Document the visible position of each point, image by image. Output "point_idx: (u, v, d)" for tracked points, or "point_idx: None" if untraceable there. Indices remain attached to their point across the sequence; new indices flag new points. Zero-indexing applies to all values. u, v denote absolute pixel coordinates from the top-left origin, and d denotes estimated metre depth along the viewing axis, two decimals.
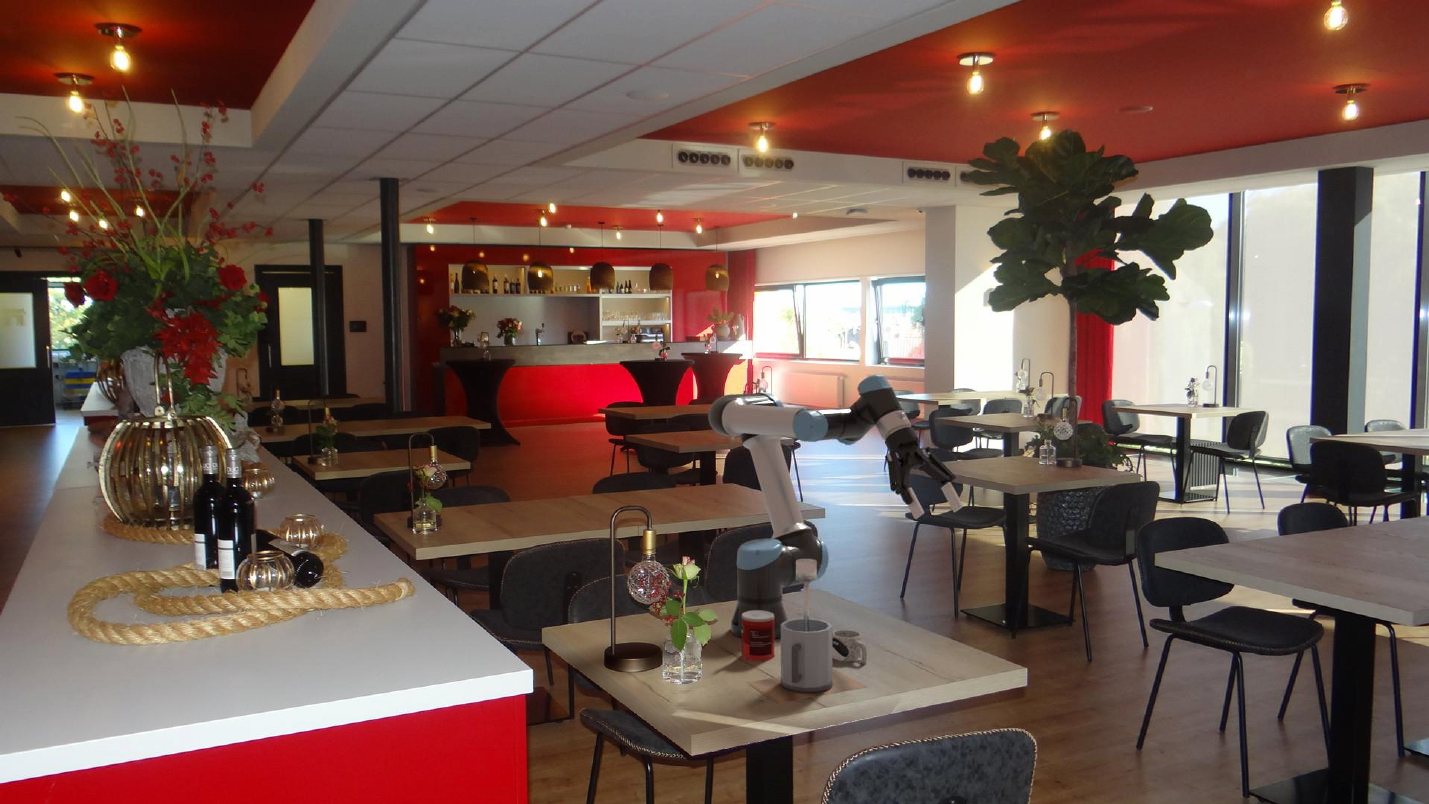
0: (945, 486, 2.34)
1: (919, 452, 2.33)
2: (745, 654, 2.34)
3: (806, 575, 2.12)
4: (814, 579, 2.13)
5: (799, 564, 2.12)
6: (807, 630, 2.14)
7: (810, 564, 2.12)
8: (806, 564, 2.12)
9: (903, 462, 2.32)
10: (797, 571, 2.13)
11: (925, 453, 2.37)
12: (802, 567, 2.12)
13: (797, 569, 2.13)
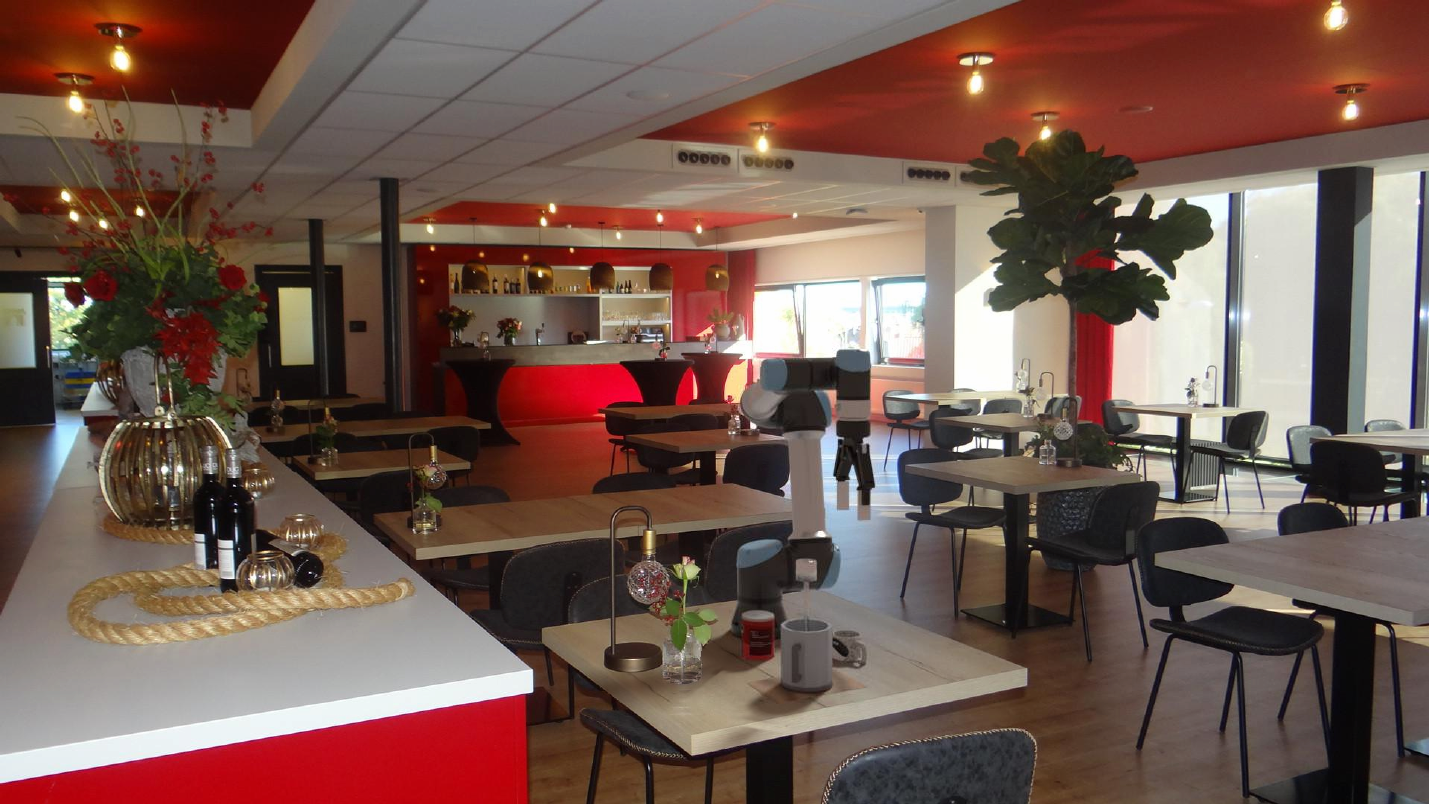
0: None
1: (846, 449, 2.18)
2: (745, 654, 2.34)
3: (806, 575, 2.12)
4: (814, 579, 2.13)
5: (799, 564, 2.12)
6: (807, 630, 2.14)
7: (810, 564, 2.12)
8: (806, 564, 2.12)
9: None
10: (797, 571, 2.13)
11: None
12: (802, 567, 2.12)
13: (797, 569, 2.13)
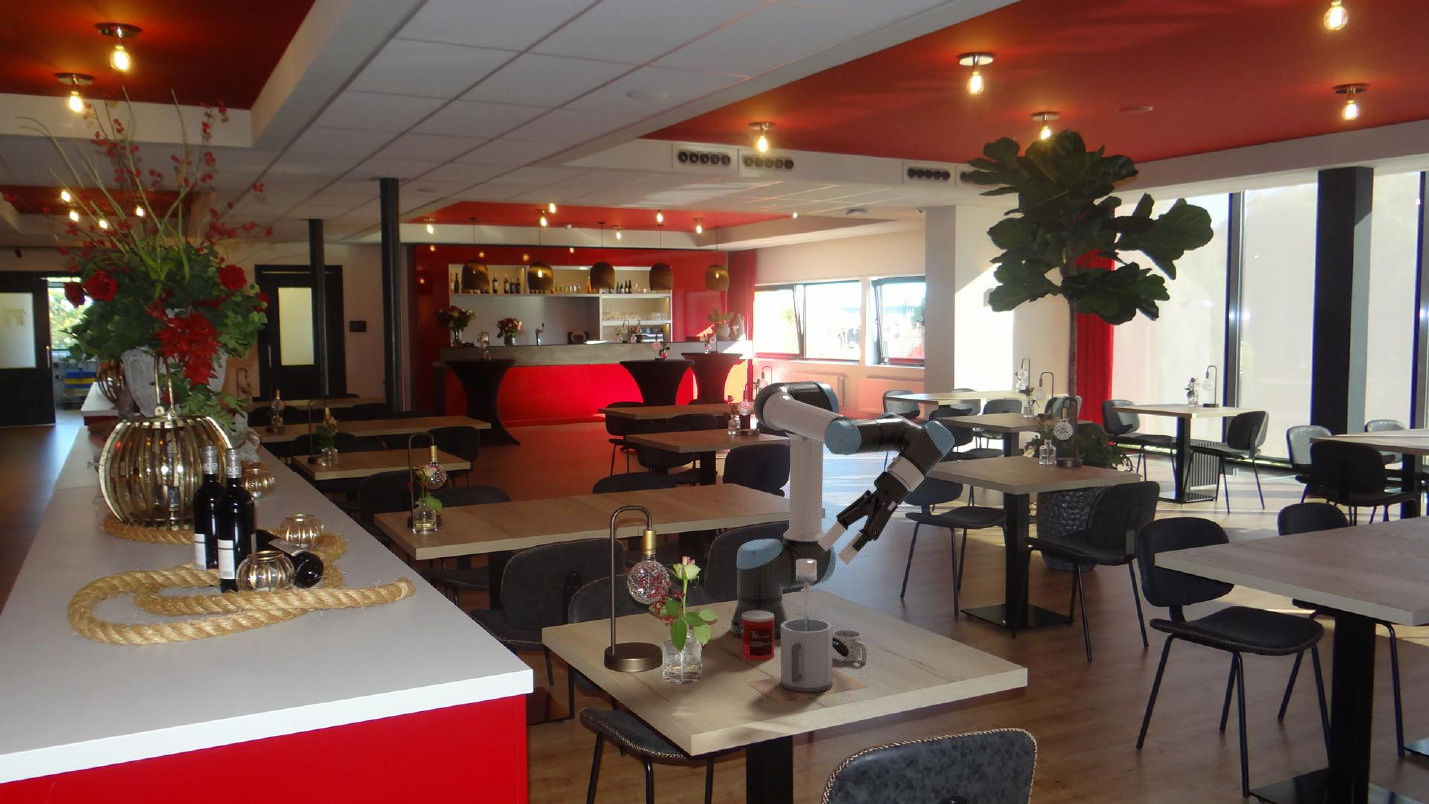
0: None
1: (873, 498, 2.14)
2: (745, 654, 2.34)
3: (806, 575, 2.12)
4: (814, 579, 2.13)
5: (799, 564, 2.12)
6: (807, 630, 2.14)
7: (810, 564, 2.12)
8: (806, 564, 2.12)
9: None
10: (797, 571, 2.13)
11: None
12: (802, 567, 2.12)
13: (797, 569, 2.13)
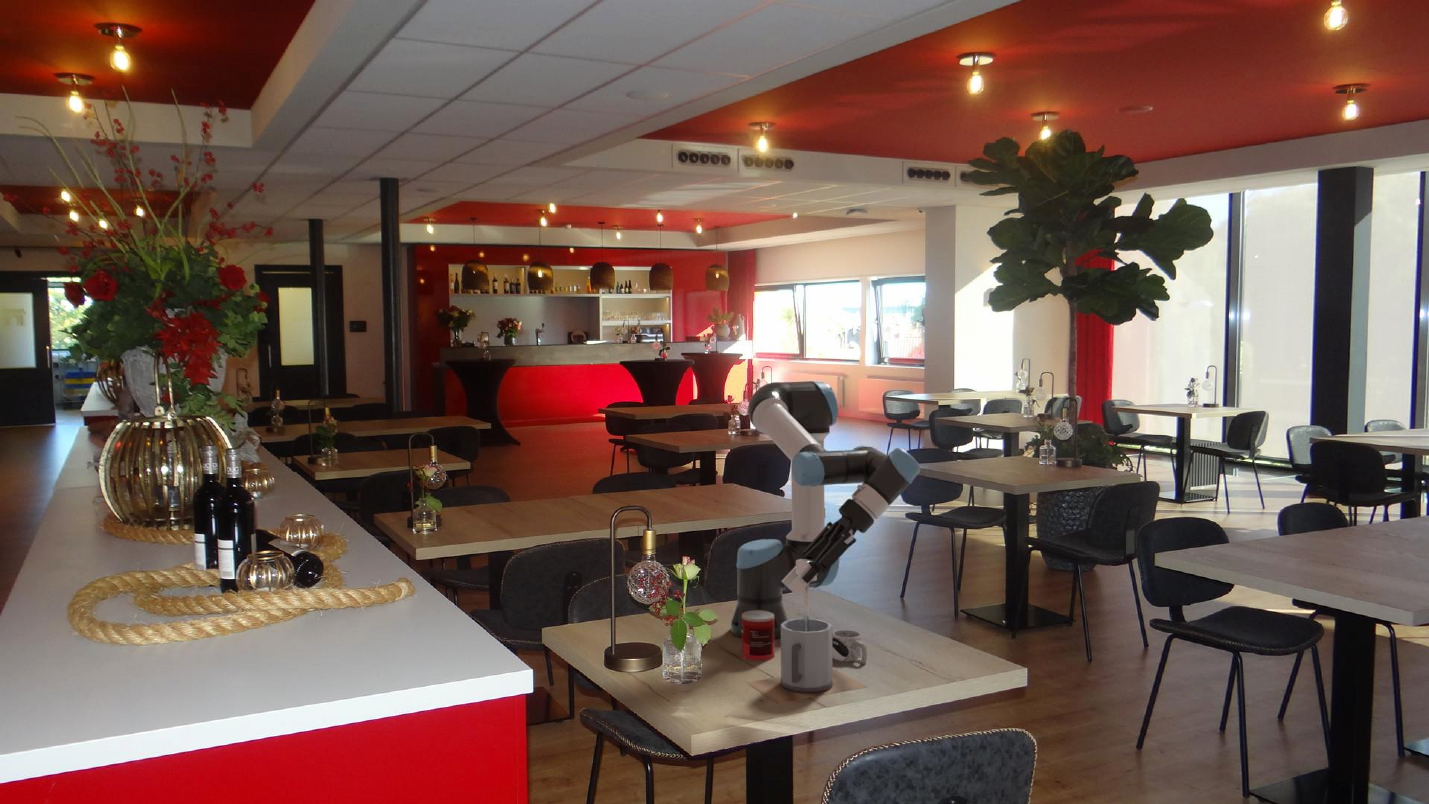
0: None
1: (838, 526, 2.13)
2: (745, 654, 2.34)
3: None
4: (814, 579, 2.13)
5: (799, 564, 2.12)
6: (807, 630, 2.14)
7: None
8: (806, 564, 2.12)
9: None
10: (797, 571, 2.13)
11: None
12: (802, 567, 2.12)
13: (797, 569, 2.13)
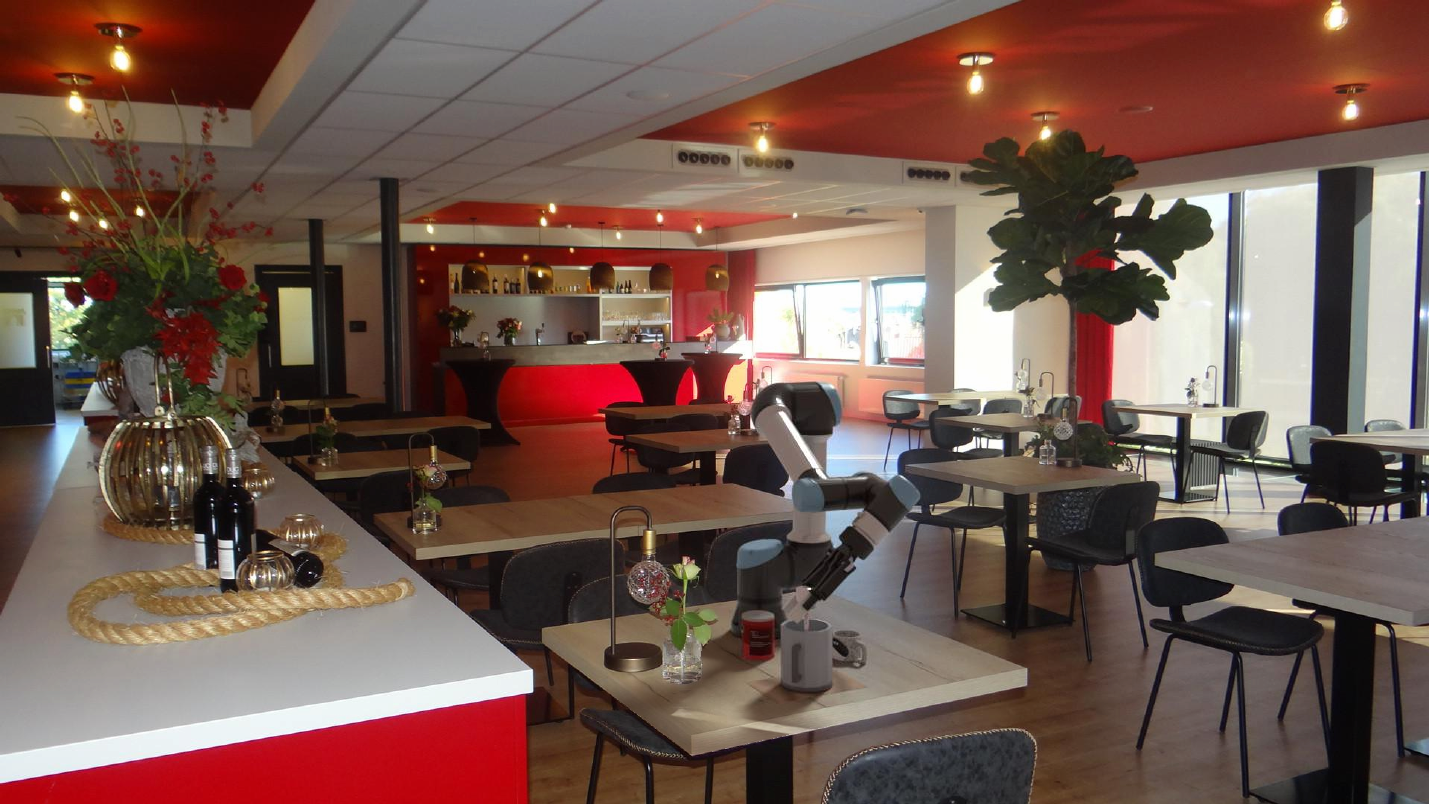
0: None
1: (838, 553, 2.14)
2: (745, 654, 2.34)
3: None
4: (814, 606, 2.13)
5: (800, 591, 2.13)
6: None
7: None
8: (806, 592, 2.12)
9: None
10: (797, 598, 2.13)
11: None
12: (802, 594, 2.12)
13: (797, 596, 2.13)
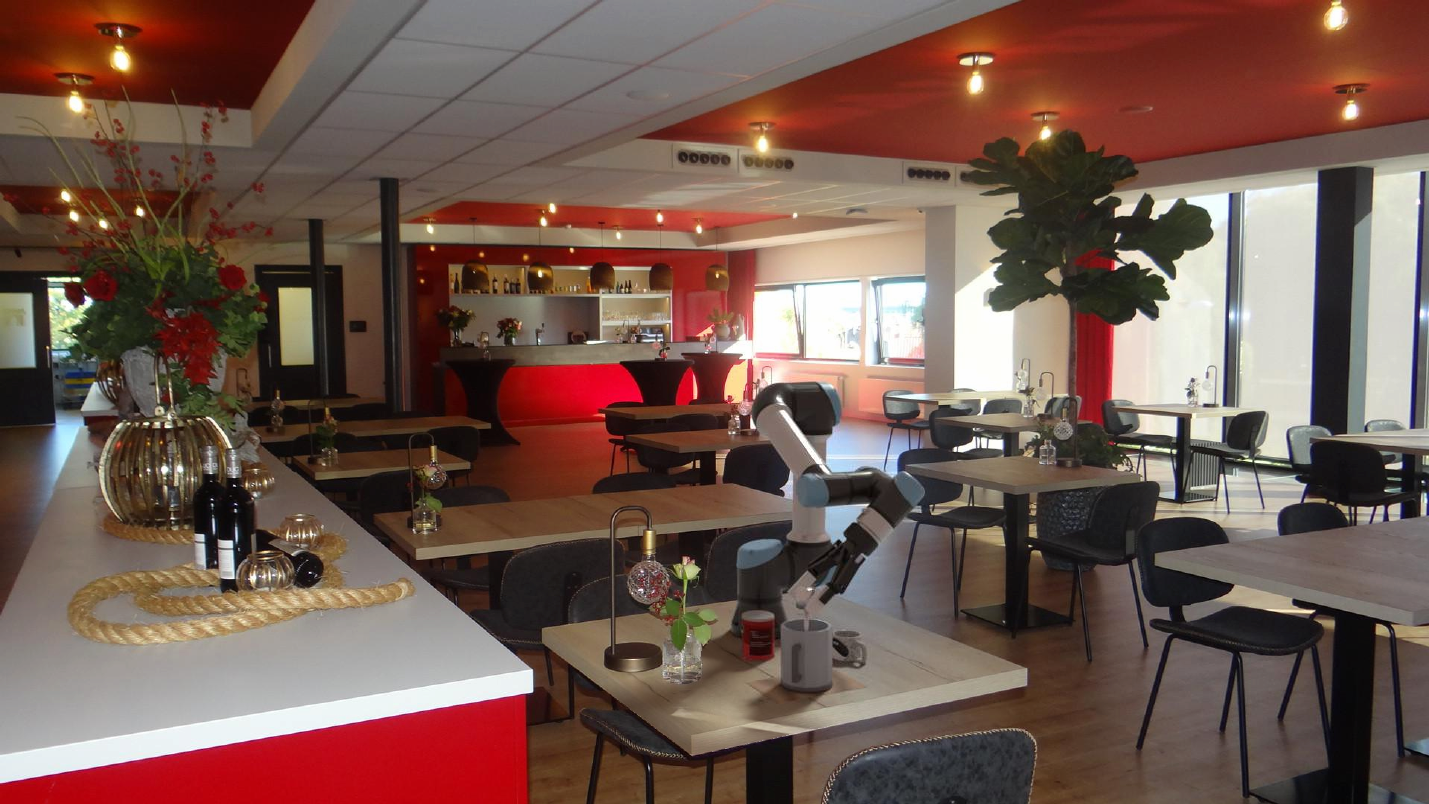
0: None
1: (842, 549, 2.14)
2: (745, 654, 2.34)
3: (806, 603, 2.12)
4: None
5: (800, 591, 2.13)
6: None
7: (810, 592, 2.12)
8: (806, 592, 2.12)
9: None
10: (797, 599, 2.13)
11: None
12: (802, 595, 2.12)
13: (797, 597, 2.13)
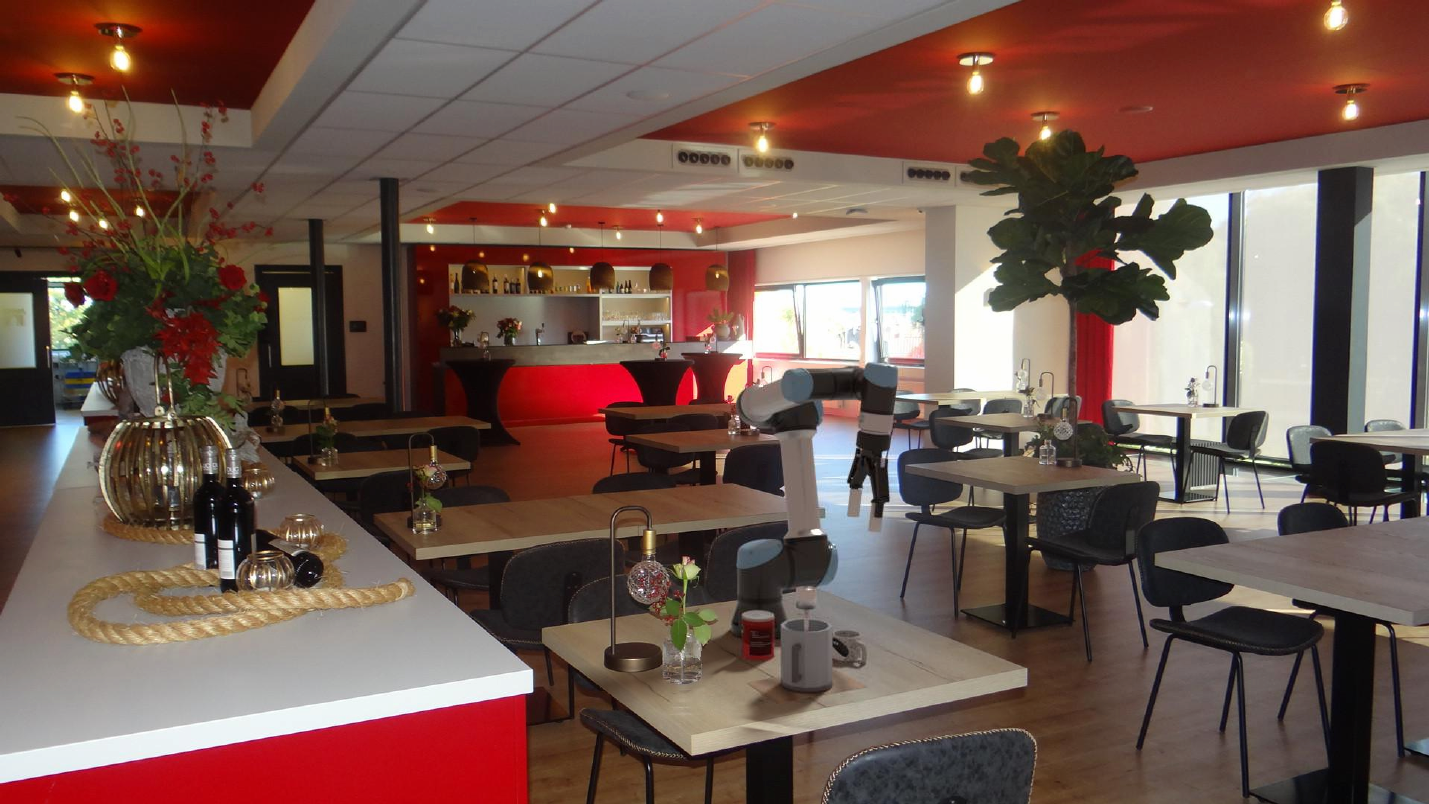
0: None
1: (865, 460, 2.23)
2: (745, 654, 2.34)
3: (806, 603, 2.12)
4: (814, 607, 2.13)
5: (800, 591, 2.13)
6: None
7: (810, 592, 2.12)
8: (806, 592, 2.12)
9: None
10: (797, 599, 2.13)
11: None
12: (802, 595, 2.12)
13: (797, 597, 2.13)
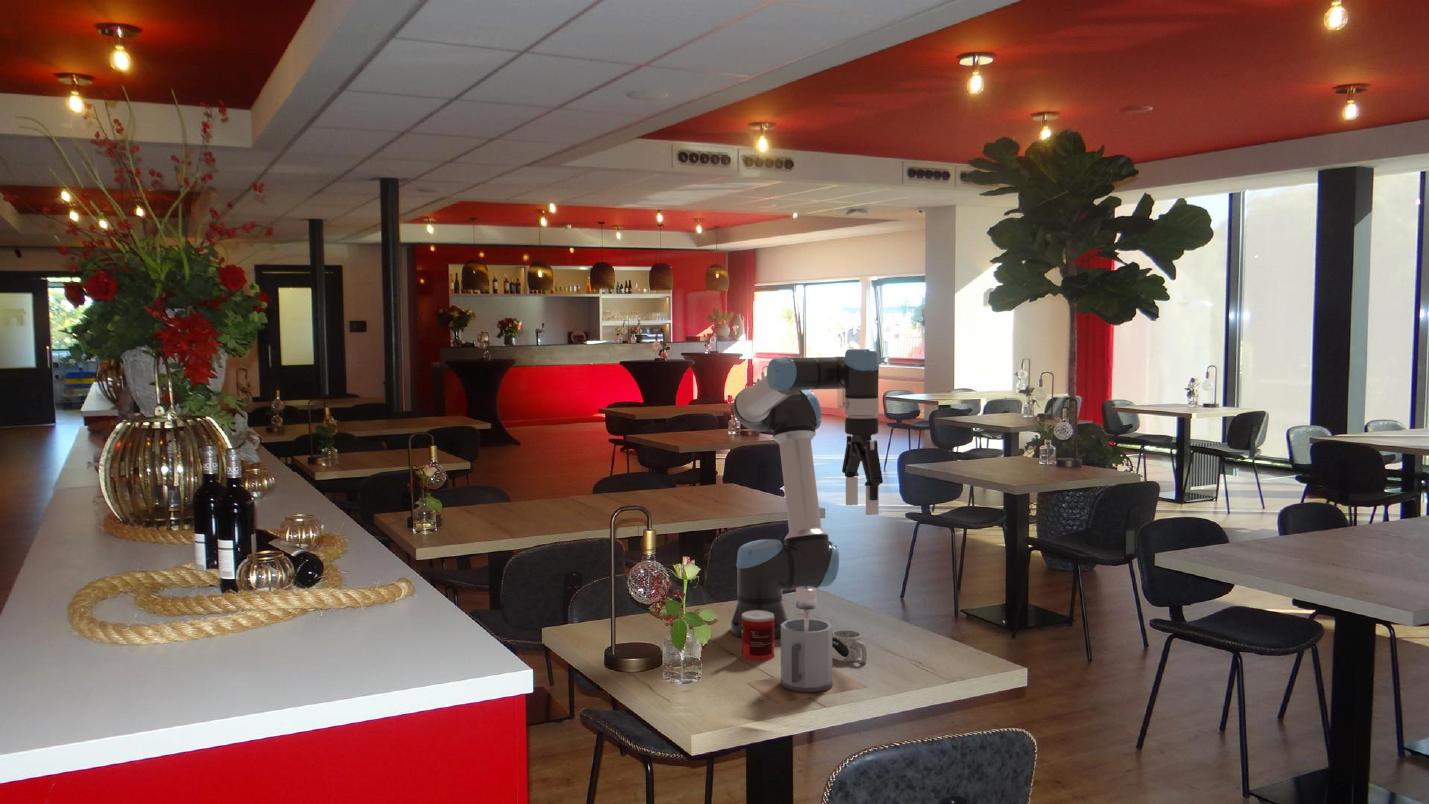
0: None
1: (855, 446, 2.25)
2: (745, 654, 2.34)
3: (806, 603, 2.12)
4: (814, 607, 2.13)
5: (800, 591, 2.13)
6: None
7: (810, 592, 2.12)
8: (806, 592, 2.12)
9: None
10: (797, 599, 2.13)
11: None
12: (802, 595, 2.12)
13: (797, 597, 2.13)
